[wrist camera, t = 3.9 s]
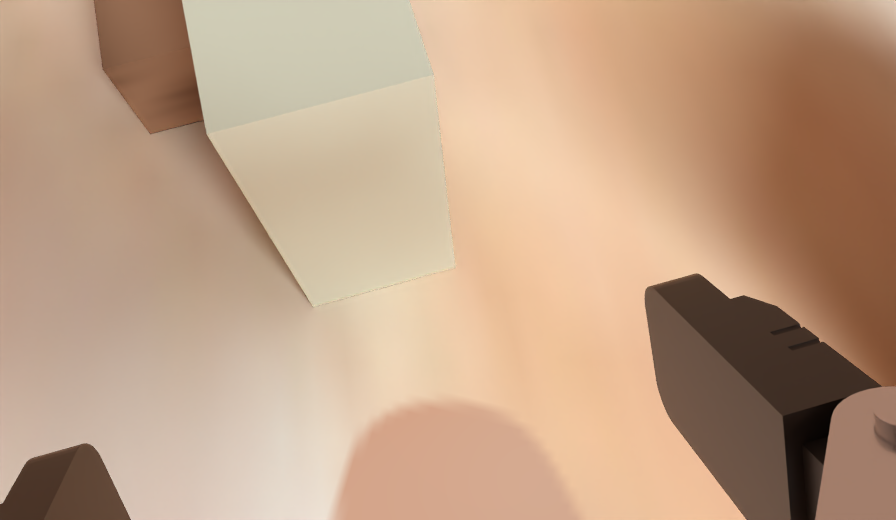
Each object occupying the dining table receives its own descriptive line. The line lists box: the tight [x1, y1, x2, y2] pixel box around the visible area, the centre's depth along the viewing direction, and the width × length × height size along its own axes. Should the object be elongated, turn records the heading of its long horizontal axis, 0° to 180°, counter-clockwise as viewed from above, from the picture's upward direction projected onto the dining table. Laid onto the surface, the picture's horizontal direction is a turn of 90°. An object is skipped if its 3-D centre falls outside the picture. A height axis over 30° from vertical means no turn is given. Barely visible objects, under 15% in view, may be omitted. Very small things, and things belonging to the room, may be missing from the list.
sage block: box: [182, 0, 455, 307], centre depth 23 cm, size 5×5×11 cm
